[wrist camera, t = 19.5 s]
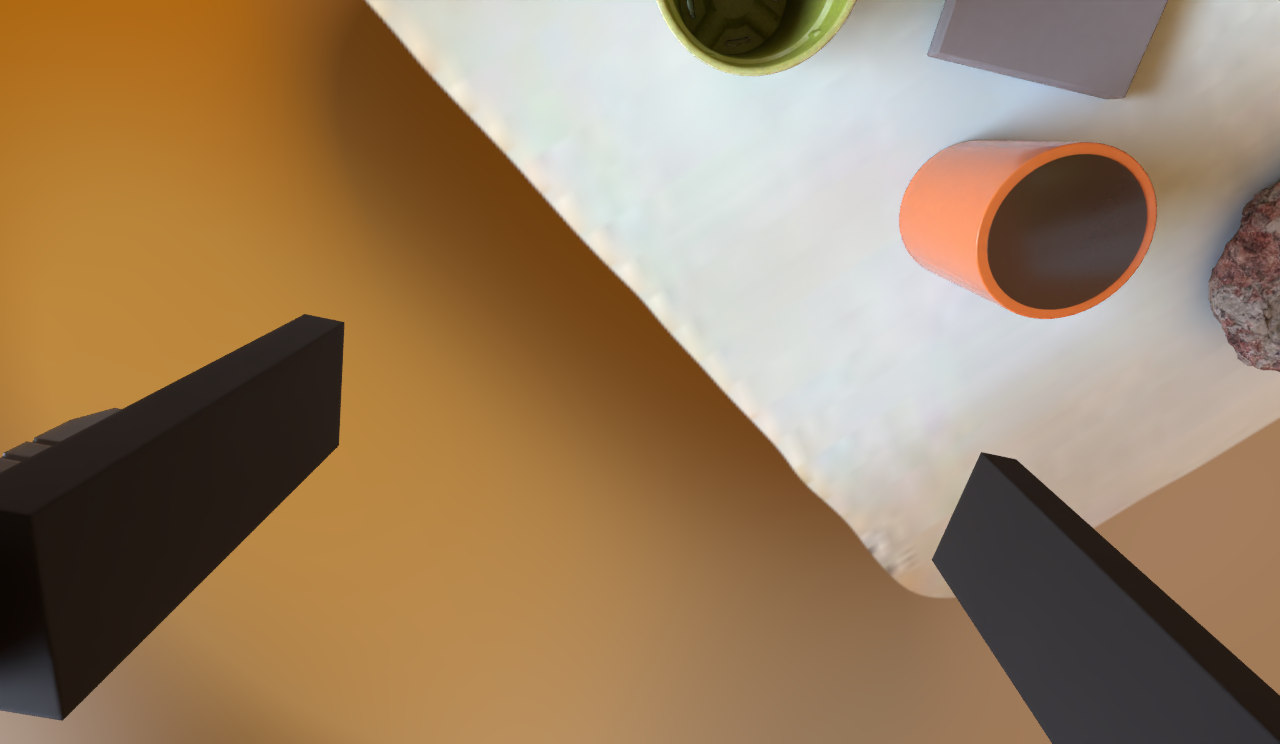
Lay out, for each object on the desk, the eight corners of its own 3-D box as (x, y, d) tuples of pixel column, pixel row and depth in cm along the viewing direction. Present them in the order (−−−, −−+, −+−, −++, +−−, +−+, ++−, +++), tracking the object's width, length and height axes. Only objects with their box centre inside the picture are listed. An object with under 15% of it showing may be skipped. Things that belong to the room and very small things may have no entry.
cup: (894, 156, 38) (974, 164, 28) (1035, 126, 37) (1165, 123, 28) (903, 287, 41) (978, 334, 31) (1034, 261, 40) (1152, 301, 31)
